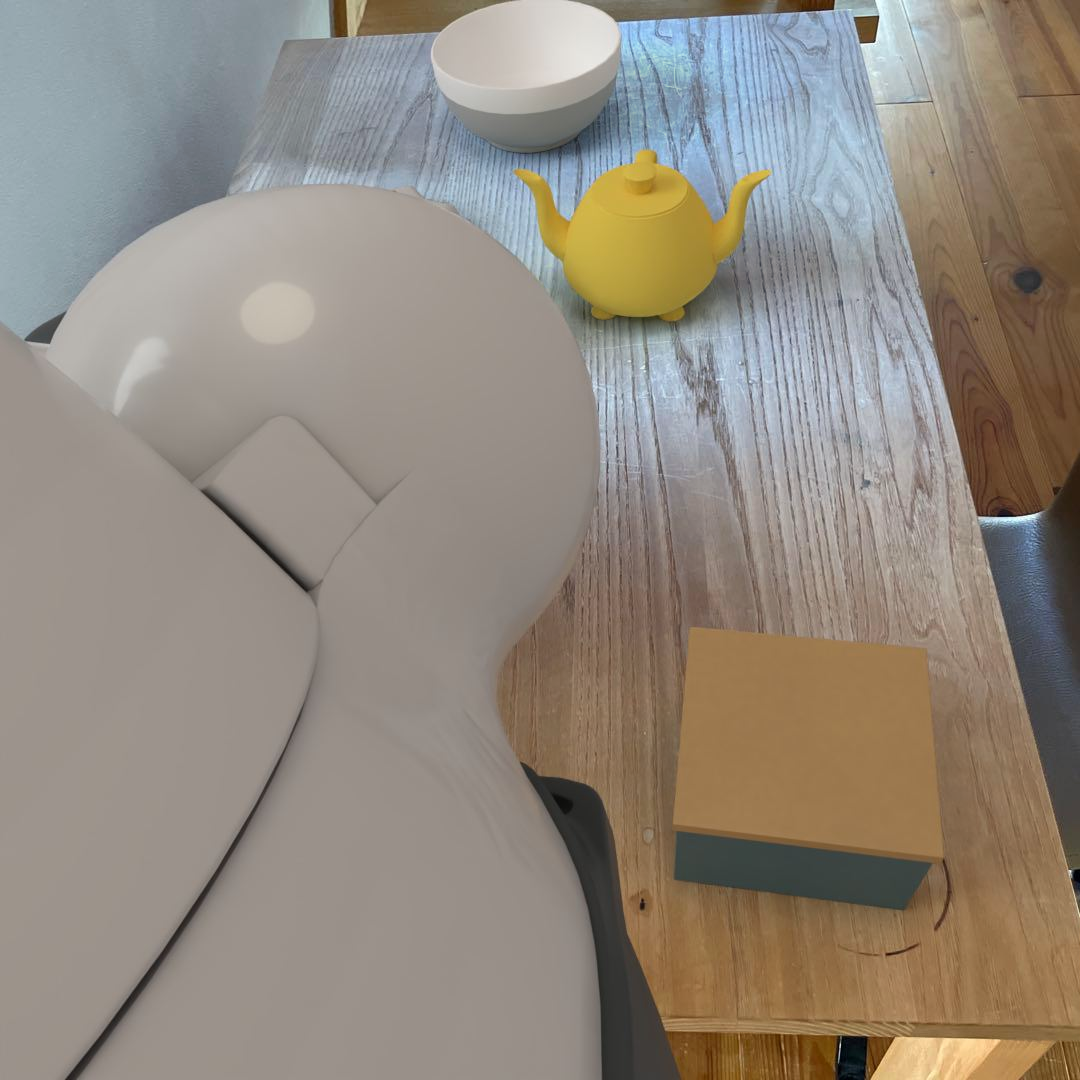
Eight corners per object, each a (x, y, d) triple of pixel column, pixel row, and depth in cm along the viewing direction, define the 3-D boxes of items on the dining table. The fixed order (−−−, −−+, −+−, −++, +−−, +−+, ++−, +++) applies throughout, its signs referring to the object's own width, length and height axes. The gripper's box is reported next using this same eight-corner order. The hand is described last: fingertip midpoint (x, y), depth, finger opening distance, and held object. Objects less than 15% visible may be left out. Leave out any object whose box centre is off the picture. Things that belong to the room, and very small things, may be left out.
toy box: (908, 915, 52) (944, 858, 45) (669, 883, 54) (672, 824, 48) (896, 720, 59) (926, 647, 52) (685, 698, 61) (689, 626, 54)
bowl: (625, 169, 98) (624, 82, 91) (436, 180, 99) (420, 96, 92) (621, 75, 109) (619, -9, 103) (451, 86, 111) (439, 5, 104)
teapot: (759, 235, 89) (772, 112, 80) (757, 344, 80) (771, 219, 71) (540, 232, 92) (528, 113, 83) (514, 336, 83) (498, 216, 74)
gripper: (273, 374, 56) (351, 384, 69) (-60, 371, 58) (78, 382, 72) (275, 486, 56) (352, 474, 70) (-54, 478, 59) (82, 469, 73)
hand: (211, 427), depth 71 cm, fingers open, 8 cm apart
